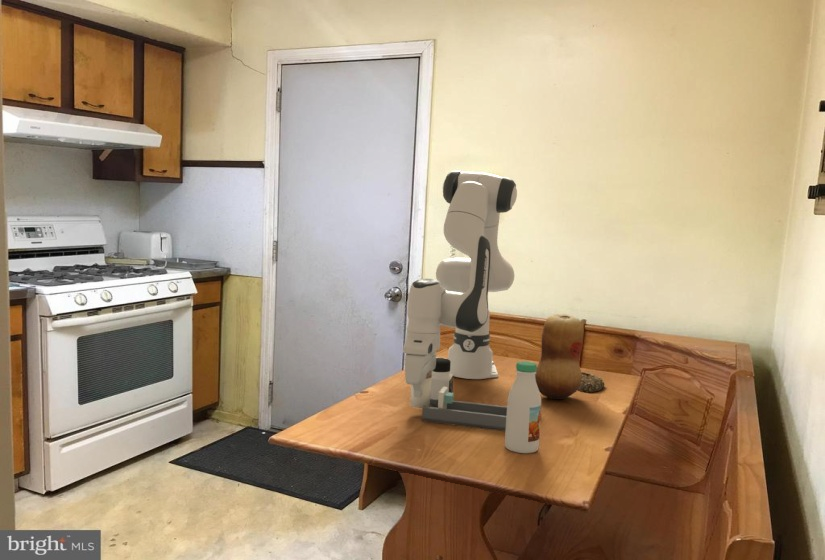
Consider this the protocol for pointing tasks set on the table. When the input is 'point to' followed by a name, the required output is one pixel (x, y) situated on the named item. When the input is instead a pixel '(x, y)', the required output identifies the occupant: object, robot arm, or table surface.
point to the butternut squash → (560, 357)
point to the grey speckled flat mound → (590, 383)
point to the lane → (467, 414)
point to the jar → (426, 393)
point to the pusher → (445, 398)
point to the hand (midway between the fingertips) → (420, 393)
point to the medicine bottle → (441, 377)
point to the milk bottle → (523, 411)
